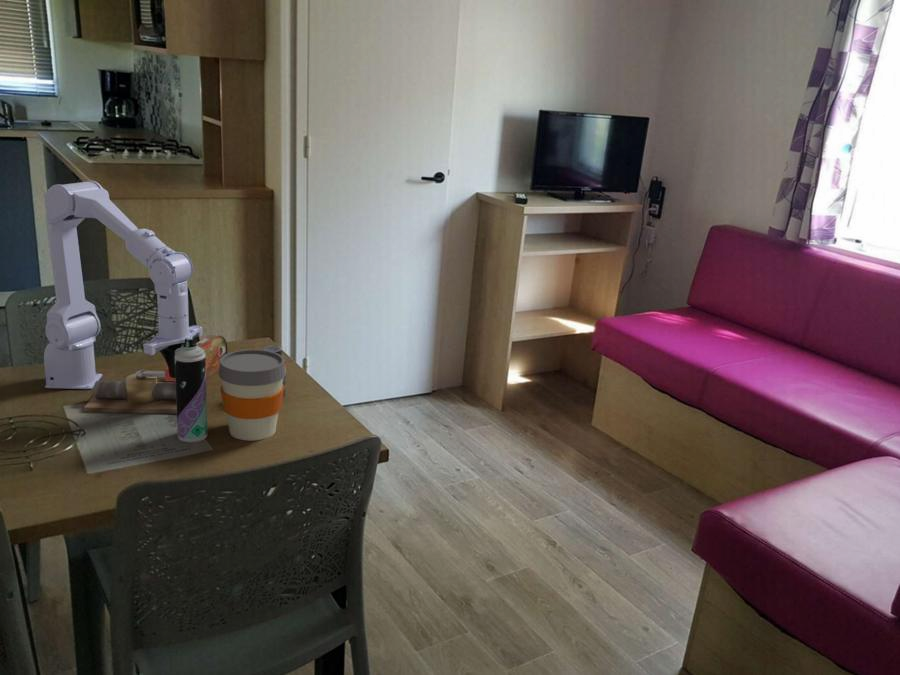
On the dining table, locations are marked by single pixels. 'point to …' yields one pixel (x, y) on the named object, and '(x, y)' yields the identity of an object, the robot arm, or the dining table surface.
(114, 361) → the dining table surface
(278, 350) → the supplement bottle
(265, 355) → the reusable coffee cup
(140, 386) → the valve stand
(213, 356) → the tin
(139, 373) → the valve lever
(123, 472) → the dining table surface
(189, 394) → the spray can
